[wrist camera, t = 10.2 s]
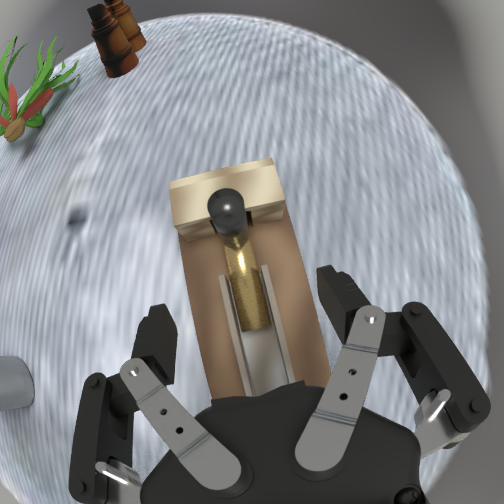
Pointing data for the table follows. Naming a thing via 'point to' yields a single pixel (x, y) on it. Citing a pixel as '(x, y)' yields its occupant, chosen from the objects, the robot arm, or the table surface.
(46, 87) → the decorative plant
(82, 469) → the robot arm
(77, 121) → the table surface
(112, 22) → the binoculars
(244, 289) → the brass sliding bolt
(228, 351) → the guide
